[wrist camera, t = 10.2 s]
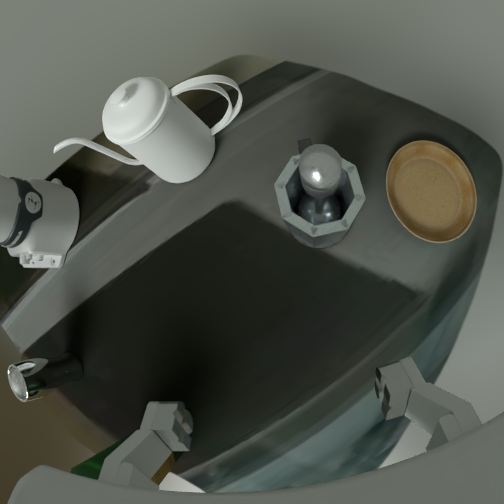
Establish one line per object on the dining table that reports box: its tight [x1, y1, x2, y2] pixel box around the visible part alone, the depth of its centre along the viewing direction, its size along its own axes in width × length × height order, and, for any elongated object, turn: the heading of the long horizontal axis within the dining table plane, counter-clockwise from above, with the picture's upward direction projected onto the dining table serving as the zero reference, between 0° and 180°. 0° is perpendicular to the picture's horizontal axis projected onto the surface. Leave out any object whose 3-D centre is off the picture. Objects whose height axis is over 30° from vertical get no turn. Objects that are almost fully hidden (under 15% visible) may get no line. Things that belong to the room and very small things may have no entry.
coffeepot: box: [54, 75, 242, 183], centre depth 36 cm, size 11×25×19 cm, turn 106°
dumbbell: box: [298, 144, 342, 226], centre depth 29 cm, size 5×5×17 cm
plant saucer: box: [386, 140, 477, 243], centre depth 35 cm, size 15×15×3 cm
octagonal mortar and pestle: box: [274, 138, 366, 249], centre depth 34 cm, size 9×11×12 cm
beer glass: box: [8, 352, 83, 402], centre depth 40 cm, size 7×7×15 cm
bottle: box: [71, 428, 182, 486], centre depth 29 cm, size 11×11×28 cm
